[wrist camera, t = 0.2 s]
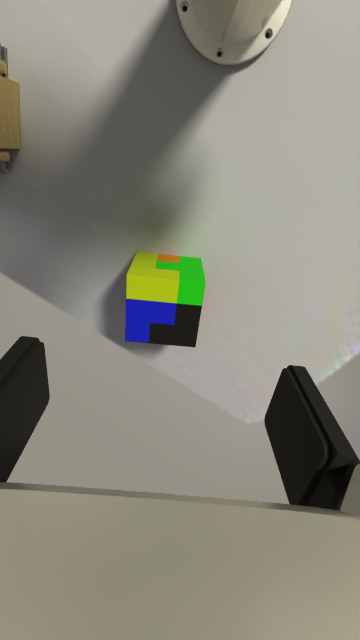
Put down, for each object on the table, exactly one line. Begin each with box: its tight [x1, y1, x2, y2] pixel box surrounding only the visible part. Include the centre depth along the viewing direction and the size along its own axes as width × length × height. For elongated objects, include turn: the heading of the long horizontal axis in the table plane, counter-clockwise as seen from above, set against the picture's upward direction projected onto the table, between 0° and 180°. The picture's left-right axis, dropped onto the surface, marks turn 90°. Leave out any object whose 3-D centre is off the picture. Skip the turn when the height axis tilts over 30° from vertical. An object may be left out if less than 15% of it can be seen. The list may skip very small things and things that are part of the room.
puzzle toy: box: [125, 252, 205, 347], centre depth 45 cm, size 10×10×10 cm
